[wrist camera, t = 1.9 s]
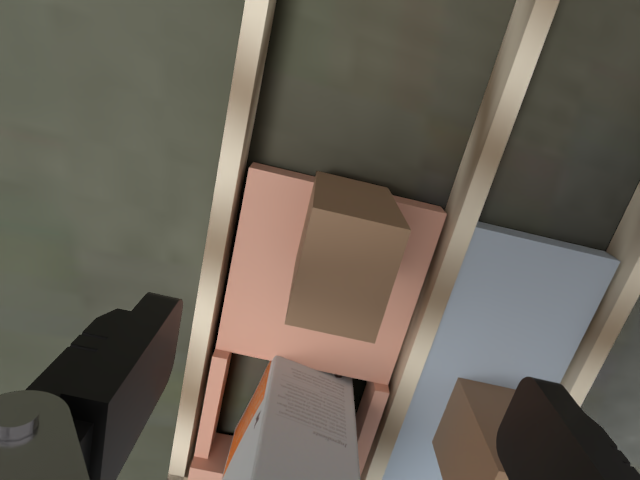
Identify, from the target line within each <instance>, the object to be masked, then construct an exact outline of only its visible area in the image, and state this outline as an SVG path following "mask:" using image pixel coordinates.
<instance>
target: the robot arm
mask: <svg viewBox="0 0 640 480" xmlns="http://www.w3.org/2000/svg"><path fill="white" fill-rule="evenodd" d="M182 308H183V301H182V299H178V298H173V297H169V296H164V295H160V294H155V293H151V292H148V293H147V294H146V295H145V296H144V297H143V298H142V299H141V301H140V302H139V303H138V304H137V305H136V306H135V307H134V309H133V310H132V311H127V310H122V309H118V308H117V309H115V310H113V311H111V312H109V313H106V314H104V315H102V316H100V317H98V318H96V319H95V320H94V321H93V322H92V323H91V324H90V325H89V326H88V327H87V328H86V329H85V330H84V331H83V333H82V335H79V336H78V337H77V338H76V339H75V340H74V341H73V342H72V343H71V346H70V347H67V348H66V349H65V350H64V351H63V352H62V353H61V354H60V355H59V356H58V357H57V358H56V359H55V360H54V361H53V362H52V363H51V364H50V365H49V366H48V367H47V368H46V370H45V371H44V372H43V373H42V374H41V375H40V376H39V377H38V378H37V379H36V380H35V381H34V382H33V383H32V384H31V385H30V386H29V387H28V388H27V389H26V390H23V391H14V392H9V393H4V394H1V395H0V480H116V479H117V477H118V475H119V473H120V471H121V469H122V467H123V466H124V464H125V462H126V460H127V458H128V456H129V454H130V452H131V451H132V449H133V447H134V445H135V443H136V441H137V439H138V437H139V436H140V434H141V432H142V430H143V428H144V426H145V424H146V422H147V421H148V419H149V417H150V415H151V413H152V411H153V409H154V408H155V406H156V404H157V402H158V400H159V398H160V396H161V394H162V393H163V391H164V389H165V387H166V385H167V382H168V380H169V377H170V374H171V371H172V367H173V364H174V359H175V353H176V346H177V340H178V334H179V328H180V321H181V315H182ZM496 449H497V454H498V457H499V460H500V462H501V464H502V466H503V468H504V470H505V473H506V475H507V477H508V479H509V480H640V474H639V473H638V472H637V471H636V469H635V468H634V467H631V466H630V462H629V461H628V459H627V458H626V457H625V456H624V454H623V453H622V452H621V451H619V450H617V446H616V444H615V443H614V442H613V441H612V439H611V438H610V437H609V436H608V434H607V433H606V432H605V431H604V429H603V428H602V427H601V426H599V425H598V424H597V423H596V422H595V421H594V420H592V419H591V418H590V417H589V416H588V415H586V414H585V413H584V412H583V410H582V409H581V408H580V406H579V405H578V404H577V403H576V401H575V400H574V399H573V398H572V396H571V395H570V394H569V392H568V391H567V390H566V389H565V387H564V386H563V385H561V384H559V383H556V382H551V381H547V380H542V379H538V378H533V377H525V378H523V379H522V380H521V381H520V382H519V384H518V386H517V388H516V391H515V393H514V395H513V397H512V399H511V402H510V404H509V406H508V408H507V410H506V413H505V415H504V417H503V419H502V422H501V424H500V426H499V428H498V432H497V437H496Z"/></svg>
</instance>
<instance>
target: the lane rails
mask: <svg viewBox="0 0 640 480" xmlns="http://www.w3.org/2000/svg"><path fill="white" fill-rule="evenodd" d="M276 1H277V0H245V6H244V12H243V18H242V25H241V31H240V37H239V43H238V49H237V55H236V62H235V68H234V74H233V80H232V86H231V92H230V98H229V105H228V111H227V117H226V123H225V129H224V135H223V141H222V148H221V154H220V160H219V166H218V172H217V178H216V184H215V191H214V197H213V203H212V209H211V215H210V221H209V227H208V234H207V240H206V246H205V252H204V258H203V264H202V270H201V277H200V283H199V289H198V295H197V301H196V307H195V313H194V320H193V326H192V332H191V338H190V344H189V350H188V356H187V363H186V369H185V375H184V381H183V387H182V393H181V399H180V406H179V412H178V418H177V424H176V430H175V436H174V442H173V449H172V455H171V461H170V467H169V473H168V479H167V480H188V475H189V470H190V466H191V463H192V460H193V457H194V453H195V442H196V437H197V432H198V426H199V421H200V415H201V410H202V404H203V399H204V393H205V388H206V382H207V377H208V372H209V366H210V361H211V355H212V350H213V344H214V339H215V333H216V328H217V322H218V317H219V312H220V306H221V301H222V295H223V290H224V284H225V279H226V273H227V268H228V262H229V257H230V252H231V246H232V241H233V235H234V230H235V224H236V219H237V213H238V208H239V203H240V197H241V192H242V186H243V181H244V175H245V170H246V164H247V159H248V153H249V148H250V143H251V137H252V132H253V126H254V121H255V115H256V110H257V104H258V99H259V93H260V88H261V83H262V77H263V72H264V66H265V61H266V55H267V50H268V44H269V39H270V33H271V28H272V23H273V17H274V12H275V6H276ZM559 1H560V0H516V3H515V6H514V9H513V12H512V15H511V18H510V21H509V24H508V26H507V29H506V32H505V35H504V38H503V41H502V44H501V47H500V50H499V53H498V56H497V59H496V62H495V64H494V67H493V70H492V73H491V76H490V79H489V82H488V85H487V88H486V91H485V94H484V97H483V99H482V102H481V105H480V108H479V111H478V114H477V117H476V120H475V123H474V126H473V129H472V132H471V135H470V137H469V140H468V143H467V146H466V149H465V152H464V155H463V158H462V161H461V164H460V167H459V170H458V172H457V175H456V178H455V181H454V184H453V187H452V190H451V193H450V196H449V199H448V202H447V205H446V208H445V210H444V211H445V212H446V213H447V216H446V219H445V222H444V224H443V227H442V230H441V233H440V236H439V239H438V242H437V245H436V248H435V251H434V253H433V256H432V259H431V262H430V265H429V268H428V271H427V274H426V277H425V279H424V282H423V285H422V288H421V291H420V294H419V297H418V300H417V303H416V306H415V308H414V311H413V314H412V317H411V320H410V323H409V326H408V329H407V332H406V335H405V337H404V340H403V343H402V346H401V349H400V352H399V355H398V358H397V361H396V363H395V366H394V369H393V372H392V375H391V378H390V381H389V384H388V388H389V393H390V394H389V396H388V399H387V402H386V405H385V408H384V411H383V414H382V417H381V419H380V422H379V425H378V428H377V431H376V434H375V437H374V439H373V442H372V445H371V448H370V451H369V454H368V457H367V459H366V462H365V465H364V468H363V471H362V474H361V477H360V480H382V478H383V475H384V473H385V470H386V467H387V464H388V462H389V459H390V456H391V454H392V451H393V448H394V446H395V443H396V440H397V438H398V435H399V432H400V429H401V427H402V424H403V421H404V419H405V416H406V413H407V411H408V408H409V405H410V403H411V400H412V397H413V394H414V392H415V389H416V386H417V384H418V381H419V378H420V376H421V373H422V370H423V367H424V365H425V362H426V359H427V357H428V354H429V351H430V349H431V346H432V343H433V341H434V338H435V335H436V332H437V330H438V327H439V324H440V322H441V319H442V316H443V314H444V311H445V308H446V306H447V303H448V300H449V297H450V295H451V292H452V289H453V287H454V284H455V281H456V279H457V276H458V273H459V271H460V268H461V265H462V262H463V260H464V257H465V254H466V252H467V249H468V246H469V244H470V241H471V238H472V235H473V233H474V230H475V227H476V225H477V222H478V219H479V217H480V214H481V211H482V209H483V206H484V203H485V200H486V198H487V195H488V192H489V190H490V187H491V184H492V182H493V179H494V176H495V174H496V171H497V168H498V165H499V163H500V160H501V157H502V155H503V152H504V149H505V147H506V144H507V141H508V138H509V136H510V133H511V130H512V128H513V125H514V122H515V120H516V117H517V114H518V112H519V109H520V106H521V103H522V101H523V98H524V95H525V93H526V90H527V87H528V85H529V82H530V79H531V77H532V74H533V71H534V68H535V66H536V63H537V60H538V58H539V55H540V52H541V50H542V47H543V44H544V41H545V39H546V36H547V33H548V31H549V28H550V25H551V23H552V20H553V17H554V15H555V12H556V9H557V6H558V4H559ZM606 252H607V253H608V254H610V255H612V256H613V257H615V258H616V259H618V260H619V261H621V262H620V264H619V266H618V268H617V270H616V272H615V274H614V276H613V278H612V280H611V282H610V284H609V286H608V288H607V290H606V292H605V294H604V296H603V298H602V300H601V302H600V304H599V306H598V308H597V310H596V312H595V314H594V316H593V318H592V320H591V322H590V324H589V326H588V328H587V330H586V332H585V334H584V336H583V338H582V340H581V342H580V344H579V346H578V348H577V350H576V352H575V354H574V356H573V358H572V360H571V362H570V364H569V366H568V368H567V370H566V372H565V374H564V376H563V378H562V380H561V382H560V384H561V385H563V386H564V387H565V389H566V390H567V391H568V392H569V394H570V395H571V396H572V398H573V399H574V400H575V401H576V403H577V404H578V405H579V406H580V407H581V405H582V403H583V401H584V399H585V397H586V395H587V394H588V392H589V390H590V388H591V386H592V384H593V382H594V380H595V378H596V376H597V375H598V373H599V371H600V369H601V367H602V365H603V363H604V361H605V359H606V357H607V356H608V354H609V352H610V350H611V348H612V346H613V344H614V342H615V340H616V339H617V337H618V335H619V333H620V331H621V329H622V327H623V325H624V323H625V321H626V320H627V318H628V316H629V314H630V312H631V310H632V308H633V306H634V304H635V302H636V301H637V299H638V297H639V295H640V182H639V184H638V186H637V188H636V190H635V192H634V194H633V196H632V198H631V201H630V203H629V205H628V207H627V209H626V211H625V213H624V215H623V217H622V219H621V221H620V223H619V225H618V227H617V230H616V232H615V234H614V236H613V238H612V240H611V242H610V244H609V246H608V248H607V250H606Z"/></svg>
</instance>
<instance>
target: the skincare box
mask: <svg viewBox="0 0 640 480" xmlns="http://www.w3.org/2000/svg"><path fill="white" fill-rule="evenodd" d="M222 480H360V468H359V457H358V444H357V431H356V418H355V405H354V394H353V381H352V378H351V377H346V376H342V375H337V374H332V373H327V372H323V371H318V370H315V369H312V368H310V367H307V366H305V365H302V364H299V363H297V362H294V361H291V360H289V359H286V358H283V357H281V356H275V357H274V358H273V360H272V361H269V363H268V365H267V367H266V369H265V371H264V373H263V375H262V377H261V379H260V382H259V384H258V386H257V388H256V390H255V392H254V394H253V396H252V397H251V399H250V401H249V403H248V405H247V407H246V409H245V411H244V412H243V414H242V416H241V418H240V420H239V422H238V424H237V426H236V428H235V431H234V435H233V439H232V443H231V446H230V450H229V454H228V457H227V461H226V465H225V468H224V472H223V476H222Z"/></svg>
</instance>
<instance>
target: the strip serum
mask: <svg viewBox="0 0 640 480" xmlns="http://www.w3.org/2000/svg"><path fill="white" fill-rule="evenodd" d="M446 216H447V213H446V212H445V211H444V210H443V209H442V208H441V207H440V206H437V205H432V204H428V203H424V202H420V201H416V200H411V199H407V198H403V197H399V196H394V195H392V194H391V192H390V190H389V189H388V188H387V187H383V186H378V185H374V184H370V183H366V182H362V181H357V180H353V179H349V178H345V177H341V176H336V175H332V174H328V173H324V172H320V171H317V172H316V176H315V177H314V176H310V175H306V174H302V173H298V172H293V171H289V170H285V169H281V168H277V167H272V166H268V165H264V164H260V163H255V162H253V163H252V164H251V165H250V167H249V170H248V175H247V181H246V186H245V191H244V197H243V202H242V208H241V213H240V218H239V224H238V229H237V235H236V240H235V245H234V251H233V256H232V261H231V267H230V272H229V278H228V283H227V288H226V294H225V299H224V305H223V310H222V315H221V321H220V326H219V331H218V337H217V342H216V348H215V351H214V353H213V356H212V360H211V366H210V371H209V377H208V382H207V387H206V393H205V398H204V404H203V409H202V415H201V420H200V425H199V431H198V436H197V442H196V447H195V453H194V457H193V460H192V463H191V466H190V470H189V475H188V480H222V476H223V472H224V468H225V465H226V461H227V457H228V454H229V450H230V446H231V443H232V439H233V436H231V435H225V434H220V433H216V430H217V425H218V420H219V415H220V410H221V405H222V400H223V395H224V390H225V385H226V380H227V375H228V370H229V365H230V360H231V355H232V353H237V354H241V355H246V356H251V357H256V358H260V359H265V360H270V361H272V360H273V358H274V357H275V356H281V357H283V358H286V359H289V360H291V361H294V362H297V363H299V364H302V365H305V366H307V367H310V368H312V369H315V370H318V371H323V372H327V373H332V374H337V375H342V376H346V377H351V378H356V379H361V380H366V381H367V383H366V386H365V389H364V392H363V395H362V398H361V401H360V405H359V408H358V411H357V414H356V417H355V418H356V431H357V444H358V457H359V468H360V477H361V474H362V471H363V468H364V465H365V462H366V459H367V457H368V454H369V451H370V448H371V445H372V442H373V439H374V437H375V434H376V431H377V428H378V425H379V422H380V419H381V417H382V414H383V411H384V408H385V405H386V402H387V399H388V396H389V394H390V393H389V388H388V384H389V381H390V378H391V375H392V372H393V369H394V366H395V363H396V361H397V358H398V355H399V352H400V349H401V346H402V343H403V340H404V337H405V335H406V332H407V329H408V326H409V323H410V320H411V317H412V314H413V311H414V308H415V306H416V303H417V300H418V297H419V294H420V291H421V288H422V285H423V282H424V279H425V277H426V274H427V271H428V268H429V265H430V262H431V259H432V256H433V253H434V251H435V248H436V245H437V242H438V239H439V236H440V233H441V230H442V227H443V224H444V222H445V219H446Z"/></svg>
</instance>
